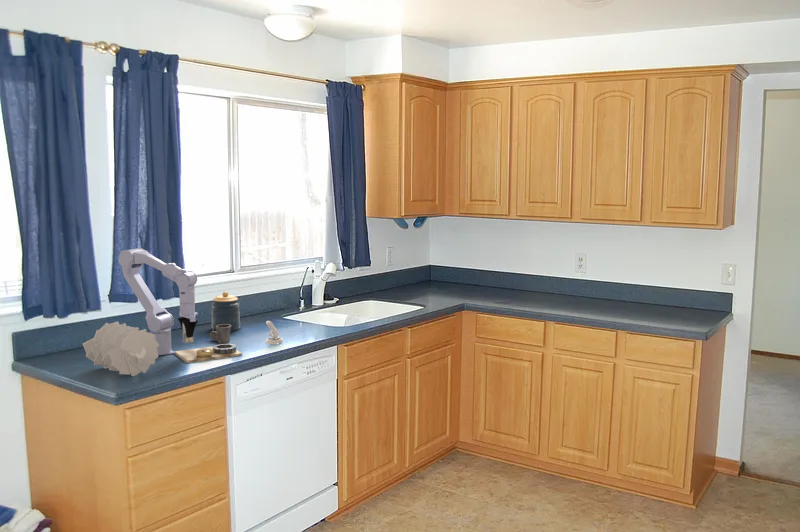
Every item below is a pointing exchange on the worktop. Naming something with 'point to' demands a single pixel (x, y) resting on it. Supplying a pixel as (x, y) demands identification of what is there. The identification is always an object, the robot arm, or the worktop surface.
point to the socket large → (224, 348)
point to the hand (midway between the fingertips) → (187, 336)
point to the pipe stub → (185, 339)
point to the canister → (225, 311)
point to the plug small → (204, 353)
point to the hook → (273, 334)
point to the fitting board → (192, 357)
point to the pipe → (221, 334)
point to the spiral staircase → (122, 348)
